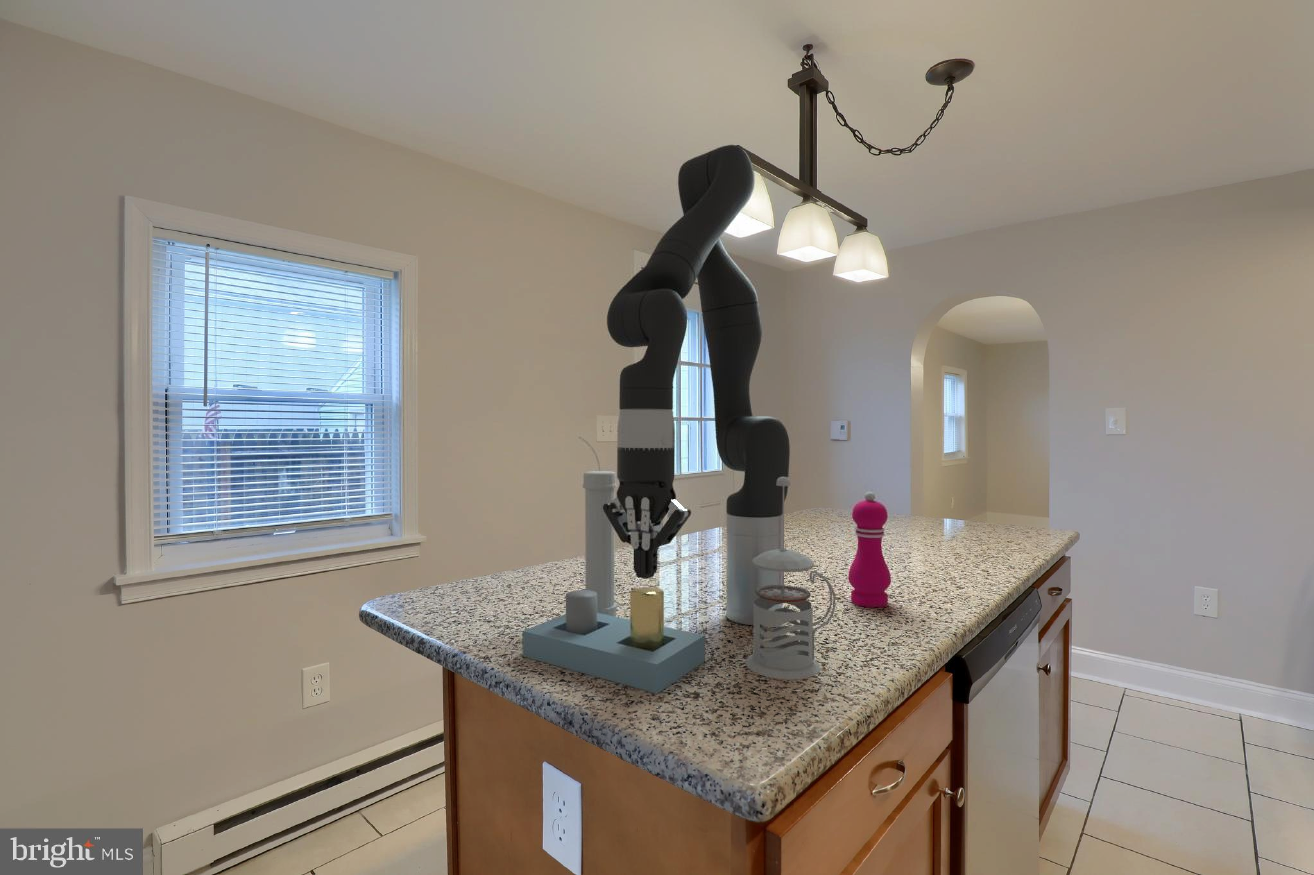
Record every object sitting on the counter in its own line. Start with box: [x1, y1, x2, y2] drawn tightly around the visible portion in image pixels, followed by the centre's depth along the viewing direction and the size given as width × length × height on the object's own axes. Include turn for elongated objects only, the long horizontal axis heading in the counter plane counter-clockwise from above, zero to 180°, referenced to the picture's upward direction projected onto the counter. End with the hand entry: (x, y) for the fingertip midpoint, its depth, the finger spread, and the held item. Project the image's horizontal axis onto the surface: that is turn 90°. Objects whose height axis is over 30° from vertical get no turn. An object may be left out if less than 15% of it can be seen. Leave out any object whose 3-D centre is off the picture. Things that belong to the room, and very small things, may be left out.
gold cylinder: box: [629, 586, 665, 652], centre depth 80 cm, size 4×4×10 cm
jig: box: [522, 589, 706, 695], centre depth 83 cm, size 12×22×8 cm, turn 57°
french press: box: [745, 477, 836, 681], centre depth 81 cm, size 10×12×25 cm
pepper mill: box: [847, 491, 892, 608], centre depth 109 cm, size 7×7×20 cm
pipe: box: [578, 436, 618, 617], centre depth 99 cm, size 6×6×30 cm
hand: (645, 576), depth 80 cm, fingers closed
